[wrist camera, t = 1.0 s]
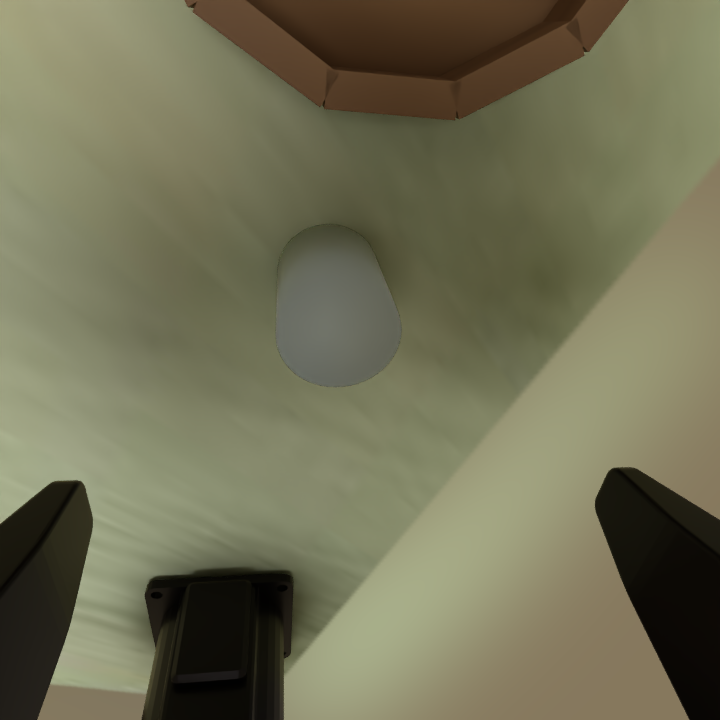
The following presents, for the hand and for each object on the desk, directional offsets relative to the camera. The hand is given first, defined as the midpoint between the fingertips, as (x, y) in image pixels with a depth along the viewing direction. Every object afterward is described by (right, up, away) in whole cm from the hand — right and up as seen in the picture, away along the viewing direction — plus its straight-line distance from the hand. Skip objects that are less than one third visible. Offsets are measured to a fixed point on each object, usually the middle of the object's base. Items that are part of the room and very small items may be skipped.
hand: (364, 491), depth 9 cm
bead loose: (-1, +5, +8) cm, 9 cm away
